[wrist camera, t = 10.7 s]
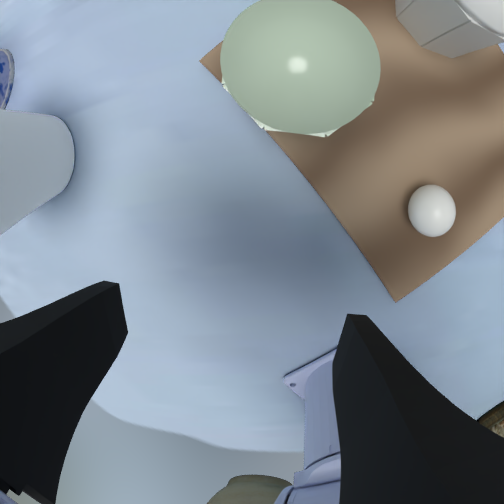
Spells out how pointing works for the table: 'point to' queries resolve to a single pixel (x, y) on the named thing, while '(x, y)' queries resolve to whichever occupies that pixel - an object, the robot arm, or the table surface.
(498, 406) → the owl figurine
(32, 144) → the cup
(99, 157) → the table surface
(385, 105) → the walnut board
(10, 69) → the aerosol can
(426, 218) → the white marble
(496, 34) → the white acorn nut
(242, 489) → the planter bowl
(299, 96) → the sage green acorn nut
